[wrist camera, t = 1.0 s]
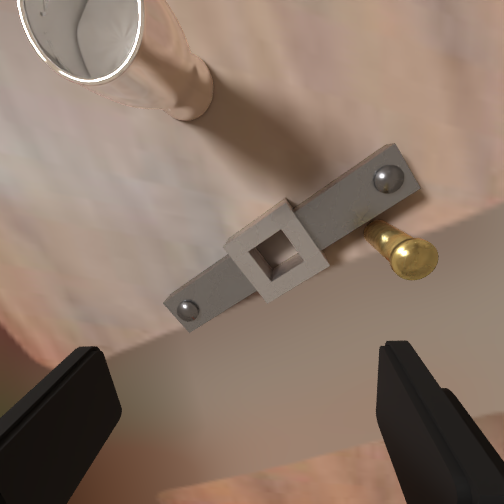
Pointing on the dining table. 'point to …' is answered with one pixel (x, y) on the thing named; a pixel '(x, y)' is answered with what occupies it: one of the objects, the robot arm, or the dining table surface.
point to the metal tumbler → (121, 52)
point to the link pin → (402, 250)
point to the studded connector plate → (294, 238)
